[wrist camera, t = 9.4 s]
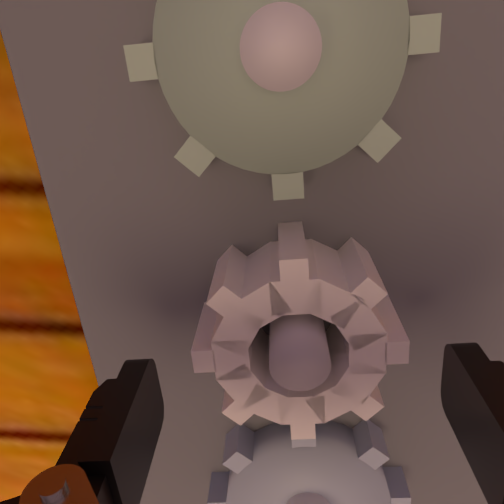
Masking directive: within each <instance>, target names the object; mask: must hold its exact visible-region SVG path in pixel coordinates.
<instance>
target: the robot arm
mask: <svg viewBox="0 0 504 504" xmlns="http://www.w3.org/2000/svg"><path fill="white" fill-rule="evenodd" d="M441 401H442V406H443V410H444V412H445V415H446V417H447V419H448V421H449V423H450V425H451V427H452V429H453V431H454V434H455V436H456V438H457V440H458V442H459V444H460V446H461V448H462V450H463V452H464V455H465V457H466V459H467V461H468V463H469V465H470V467H471V469H472V471H473V473H474V476H475V478H476V480H477V482H478V484H479V486H480V488H481V490H482V492H483V494H484V496H485V499H486V501H487V503H488V504H504V363H503V362H502V361H500V360H499V361H490V360H489V358H488V357H487V355H486V354H485V353H484V351H483V350H482V348H481V347H480V346H479V344H478V343H476V342H473V343H454V344H446V346H445V348H444V356H443V367H442V378H441ZM163 419H164V402H163V397H162V392H161V387H160V383H159V378H158V373H157V368H156V364H155V361H154V360H153V359H133V360H126V361H125V362H124V363H123V366H122V368H121V370H120V372H119V374H118V376H117V378H116V379H107V380H106V381H105V382H103V383H102V384H101V385H100V386H99V387H98V388H97V389H96V390H95V391H94V392H93V394H92V396H91V398H90V400H89V401H88V403H87V405H86V409H84V411H83V413H82V415H81V417H80V421H79V422H78V423H77V425H76V427H75V429H74V430H73V432H72V434H71V436H70V438H69V440H68V442H67V444H66V446H65V448H64V450H63V452H62V454H61V456H60V458H59V459H58V461H57V463H56V465H55V466H54V467H51V468H49V469H46V470H45V471H43V472H41V473H40V474H38V475H37V476H36V477H35V478H33V479H32V480H31V481H30V482H29V483H28V485H27V486H26V487H25V489H24V490H23V492H22V494H21V495H20V496H18V497H15V498H12V499H9V500H5V501H2V502H0V504H140V501H141V498H142V494H143V491H144V487H145V484H146V480H147V477H148V473H149V470H150V466H151V463H152V459H153V456H154V453H155V449H156V446H157V442H158V439H159V435H160V432H161V428H162V425H163Z"/></svg>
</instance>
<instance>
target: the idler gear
mask: <svg viewBox="0 0 504 504" xmlns="http://www.w3.org/2000/svg"><path fill="white" fill-rule="evenodd" d="M299 314H312V315H314V316H317V317H319V318H321V319H323V320H326V321H328V322H330V323H331V325H330V326H329V328H328V329H327V331H326V332H325V333H326V338H327V344H328V349H329V354H330V360H331V371H330V374H329V376H328V378H327V379H326V380H325V382H324V383H322V384H321V385H320V386H318V387H316V388H314V389H311V390H308V391H292V390H288V389H286V388H283V387H282V386H280V385H279V384H277V383H276V382H275V381H274V379H273V378H272V376H271V374H270V370H269V335H267V334H266V333H265V332H264V330H263V329H262V328H261V327H263V326H265V325H267V324H268V323H270V322H272V321H274V320H275V319H277V318H279V317H281V316H282V315H299ZM409 347H410V341H409V338H408V336H407V334H406V332H405V330H404V328H403V326H402V324H401V321H400V319H399V317H398V315H397V313H396V311H395V309H394V307H393V304H392V302H391V300H390V298H389V296H388V292H387V290H386V288H385V286H384V284H383V282H382V280H381V278H380V276H379V273H378V271H377V269H376V267H375V265H374V263H373V261H372V259H371V256H370V254H369V252H368V251H367V250H366V249H365V248H364V247H362V246H361V245H360V244H359V243H358V242H356V241H355V240H354V239H353V238H352V237H351V238H350V239H349V240H348V241H347V242H346V243H345V244H344V245H343V246H342V247H340V248H339V249H338V250H335V249H332V248H330V247H328V246H326V245H324V244H321V243H319V242H317V241H315V240H313V239H305V237H304V231H303V225H302V221H301V222H286V223H278V241H272V242H269V243H267V244H266V245H264V246H263V247H261V248H259V249H258V250H256V251H255V252H253V253H251V254H250V255H248V256H246V255H245V254H243V253H242V252H241V251H239V250H238V249H237V248H236V247H234V246H233V245H231V246H230V247H229V248H228V249H227V251H226V252H225V253H224V254H223V255H222V256H221V257H220V258H219V259H218V261H217V264H216V268H215V271H214V275H213V279H212V283H211V286H210V290H209V294H208V297H207V301H206V302H204V305H203V309H202V312H201V316H200V320H199V323H198V327H197V330H196V334H195V338H194V341H193V345H192V349H191V357H192V363H193V369H194V373H207V372H215V376H216V381H218V383H219V384H220V385H221V386H222V387H223V388H224V389H225V392H224V399H223V406H222V414H224V415H225V416H227V417H228V418H230V419H231V420H233V421H234V422H236V423H237V424H239V425H240V426H241V425H242V424H243V423H244V422H245V421H247V420H248V419H249V418H250V417H251V416H252V415H253V414H255V415H258V416H260V417H263V418H265V419H268V420H270V421H273V422H275V423H278V424H280V425H290V428H291V440H297V439H316V432H315V424H319V423H326V422H328V421H330V420H332V419H334V418H336V417H339V416H341V415H343V414H345V413H347V412H349V411H352V412H354V413H355V414H356V415H358V416H359V417H361V418H362V419H363V420H365V421H367V420H368V419H370V418H371V417H372V416H373V415H375V414H376V413H377V412H379V411H380V410H381V409H382V408H384V404H383V401H382V398H381V394H380V391H379V388H378V385H377V384H378V383H379V382H380V380H381V379H382V378H383V376H384V375H385V374H386V365H391V364H409Z"/></svg>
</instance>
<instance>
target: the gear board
mask: <svg viewBox="0 0 504 504" xmlns="http://www.w3.org/2000/svg"><path fill="white" fill-rule="evenodd" d="M0 30H1V33H2V37H3V41H4V44H5V48H6V52H7V55H8V59H9V62H10V66H11V70H12V73H13V77H14V81H15V84H16V88H17V91H18V95H19V99H20V102H21V106H22V110H23V113H24V117H25V121H26V124H27V128H28V131H29V135H30V139H31V142H32V146H33V150H34V153H35V157H36V160H37V164H38V168H39V171H40V175H41V179H42V182H43V186H44V189H45V193H46V197H47V200H48V204H49V208H50V211H51V215H52V219H53V222H54V226H55V229H56V233H57V237H58V240H59V244H60V248H61V251H62V255H63V258H64V262H65V266H66V269H67V273H68V277H69V280H70V284H71V287H72V291H73V295H74V298H75V302H76V306H77V309H78V313H79V316H80V320H81V324H82V327H83V331H84V335H85V338H86V342H87V346H88V349H89V353H90V356H91V360H92V364H93V367H94V371H95V375H96V378H97V382H98V385H99V386H100V385H101V384H102V383H103V382H105V381H106V380H107V379H116V378H117V376H118V374H119V372H120V370H121V368H122V366H123V363H124V362H125V361H126V360H133V359H153V360H154V361H155V364H156V368H157V373H158V378H159V383H160V387H161V392H162V397H163V402H164V419H163V425H162V428H161V432H160V435H159V439H158V442H157V446H156V449H155V453H154V456H153V459H152V463H151V466H150V470H149V473H148V477H147V480H146V484H145V487H144V491H143V494H142V498H141V501H140V504H488V503H487V501H486V499H485V496H484V494H483V492H482V490H481V488H480V486H479V484H478V482H477V480H476V478H475V476H474V473H473V471H472V469H471V467H470V465H469V463H468V461H467V459H466V457H465V455H464V452H463V450H462V448H461V446H460V444H459V442H458V440H457V438H456V436H455V434H454V431H453V429H452V427H451V425H450V423H449V421H448V419H447V417H446V415H445V412H444V410H443V406H442V401H441V378H442V367H443V356H444V348H445V346H446V344H454V343H473V342H476V343H478V344H479V346H480V347H481V348H482V350H483V351H484V353H485V354H486V355H487V357H488V358H489V360H490V361H499V360H500V361H502V362H503V363H504V0H0ZM301 221H302V225H303V231H304V237H305V239H313V240H315V241H317V242H319V243H321V244H324V245H326V246H328V247H330V248H332V249H335V250H338V249H339V248H340V247H342V246H343V245H344V244H345V243H346V242H347V241H348V240H349V239H350V238H351V237H352V238H353V239H354V240H355V241H356V242H358V243H359V244H360V245H361V246H362V247H364V248H365V249H366V250H367V251H368V252H369V254H370V256H371V259H372V261H373V263H374V265H375V267H376V269H377V271H378V273H379V276H380V278H381V280H382V282H383V284H384V286H385V288H386V290H387V292H388V296H389V298H390V300H391V302H392V304H393V307H394V309H395V311H396V313H397V315H398V317H399V319H400V321H401V324H402V326H403V328H404V330H405V332H406V334H407V336H408V338H409V341H410V347H409V364H391V365H386V374H385V375H384V376H383V378H382V379H381V380H380V382H379V383H378V384H377V385H378V388H379V391H380V394H381V398H382V401H383V404H384V408H382V409H381V410H380V411H379V412H377V413H376V414H375V415H373V416H372V417H371V418H370V419H368V420H367V421H365V420H363V419H362V418H361V417H359V416H358V415H356V414H355V413H354V412H352V411H349V412H347V413H345V414H343V415H341V416H339V417H336V418H334V419H332V420H330V421H328V422H326V423H319V424H315V432H316V439H297V440H291V428H290V425H280V424H278V423H275V422H273V421H270V420H268V419H265V418H263V417H260V416H258V415H255V414H253V415H252V416H251V417H250V418H249V419H248V420H247V421H245V422H244V423H243V424H242V425H241V426H240V425H239V424H237V423H236V422H234V421H233V420H231V419H230V418H228V417H227V416H225V415H224V414H222V406H223V399H224V392H225V389H224V388H223V387H222V386H221V385H220V384H219V383H218V381H216V376H215V372H207V373H194V369H193V363H192V357H191V349H192V345H193V341H194V338H195V334H196V330H197V327H198V323H199V320H200V316H201V312H202V309H203V305H204V302H206V301H207V297H208V294H209V290H210V286H211V283H212V279H213V275H214V271H215V268H216V264H217V261H218V259H219V258H220V257H221V256H222V255H223V254H224V253H225V252H226V251H227V249H228V248H229V247H230V246H231V245H233V246H234V247H236V248H237V249H238V250H239V251H241V252H242V253H243V254H245V255H246V256H248V255H250V254H251V253H253V252H255V251H256V250H258V249H259V248H261V247H263V246H264V245H266V244H267V243H269V242H272V241H278V223H286V222H301ZM330 325H331V323H330V322H328V321H326V320H323V319H321V318H319V317H317V316H314V315H312V314H299V315H282V316H281V317H279V318H277V319H275V320H274V321H272V322H270V323H268V324H267V325H265V326H263V327H261V328H262V329H263V330H264V332H265V333H266V334H267V335H269V370H270V374H271V376H272V378H273V379H274V381H275V382H276V383H277V384H279V385H280V386H282V387H283V388H286V389H288V390H292V391H308V390H311V389H314V388H316V387H318V386H320V385H321V384H322V383H324V382H325V380H326V379H327V378H328V376H329V374H330V371H331V360H330V354H329V349H328V344H327V338H326V333H325V332H326V331H327V329H328V328H329V326H330Z"/></svg>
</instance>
